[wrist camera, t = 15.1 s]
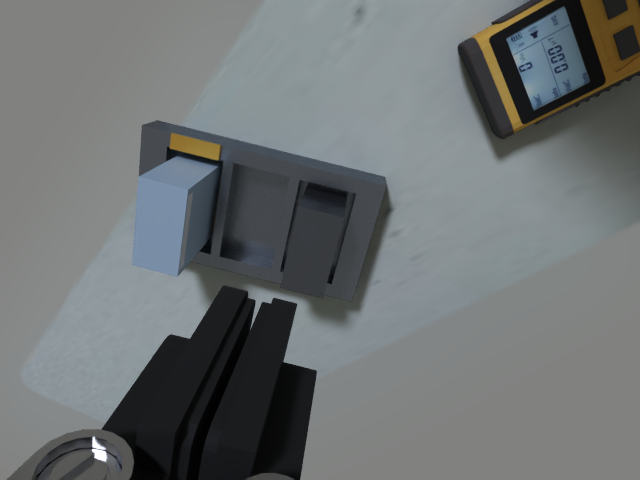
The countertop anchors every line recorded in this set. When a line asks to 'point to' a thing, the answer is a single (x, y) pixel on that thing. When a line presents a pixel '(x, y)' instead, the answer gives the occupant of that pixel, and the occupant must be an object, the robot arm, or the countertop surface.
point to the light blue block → (175, 212)
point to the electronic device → (551, 58)
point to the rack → (278, 211)
